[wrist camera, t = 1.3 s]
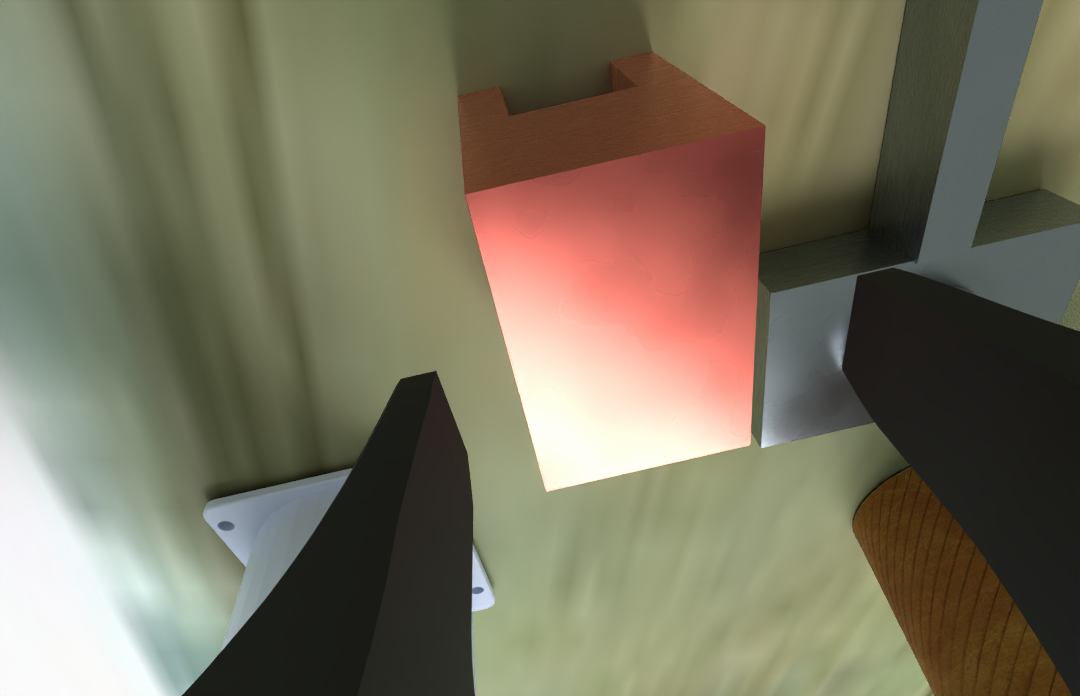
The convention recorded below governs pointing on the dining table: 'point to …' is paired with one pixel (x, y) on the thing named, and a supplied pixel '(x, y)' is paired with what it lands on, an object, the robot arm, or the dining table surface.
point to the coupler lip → (918, 217)
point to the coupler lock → (622, 266)
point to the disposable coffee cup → (949, 597)
